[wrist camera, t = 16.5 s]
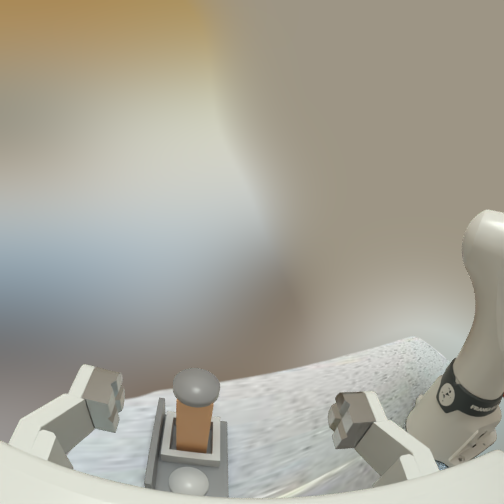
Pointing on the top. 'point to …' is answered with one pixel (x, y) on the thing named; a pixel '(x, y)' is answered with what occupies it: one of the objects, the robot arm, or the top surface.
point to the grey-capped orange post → (194, 408)
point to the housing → (187, 460)
